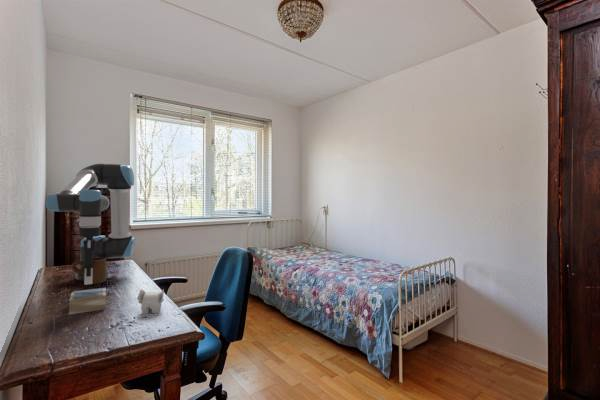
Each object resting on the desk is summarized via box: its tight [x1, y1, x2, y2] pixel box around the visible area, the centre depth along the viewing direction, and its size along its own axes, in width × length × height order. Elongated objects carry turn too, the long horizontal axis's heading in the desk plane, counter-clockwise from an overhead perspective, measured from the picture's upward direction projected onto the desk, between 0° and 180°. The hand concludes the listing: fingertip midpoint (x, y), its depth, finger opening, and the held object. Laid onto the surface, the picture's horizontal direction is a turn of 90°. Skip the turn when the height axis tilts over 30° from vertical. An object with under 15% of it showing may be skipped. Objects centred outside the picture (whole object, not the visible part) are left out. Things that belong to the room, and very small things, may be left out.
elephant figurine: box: [136, 288, 165, 315], centre depth 124 cm, size 10×12×9 cm
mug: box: [71, 258, 107, 285], centre depth 126 cm, size 12×8×9 cm, turn 119°
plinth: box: [68, 287, 107, 315], centre depth 126 cm, size 12×12×6 cm
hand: (88, 281), depth 126 cm, fingers closed on mug, 7 cm apart
